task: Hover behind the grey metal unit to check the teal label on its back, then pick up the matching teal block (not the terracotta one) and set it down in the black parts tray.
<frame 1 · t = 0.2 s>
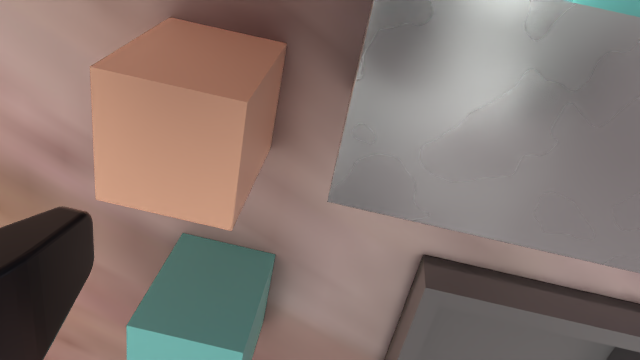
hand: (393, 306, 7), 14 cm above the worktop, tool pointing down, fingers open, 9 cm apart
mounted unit: (507, 43, 19), on the worktop
parts tray: (495, 358, 26), on the worktop
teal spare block: (224, 278, 26), on the worktop
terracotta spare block: (223, 85, 21), on the worktop
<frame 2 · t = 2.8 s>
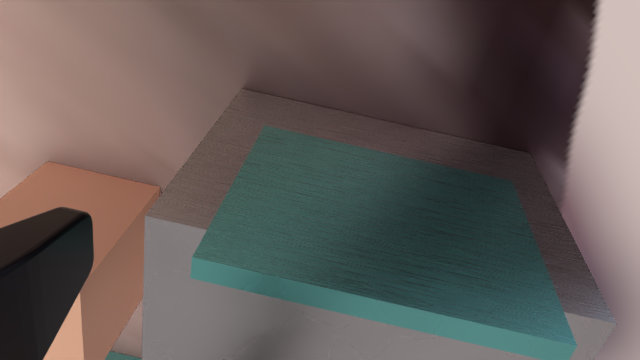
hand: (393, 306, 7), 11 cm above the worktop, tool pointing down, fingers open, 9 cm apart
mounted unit: (365, 194, 19), on the worktop
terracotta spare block: (105, 220, 22), on the worktop
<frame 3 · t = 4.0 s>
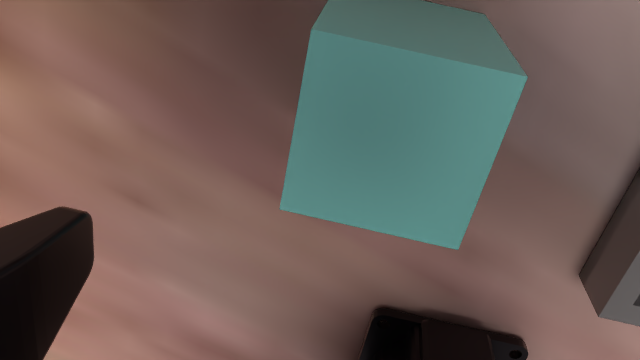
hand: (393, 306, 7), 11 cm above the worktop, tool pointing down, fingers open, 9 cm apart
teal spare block: (392, 68, 17), on the worktop
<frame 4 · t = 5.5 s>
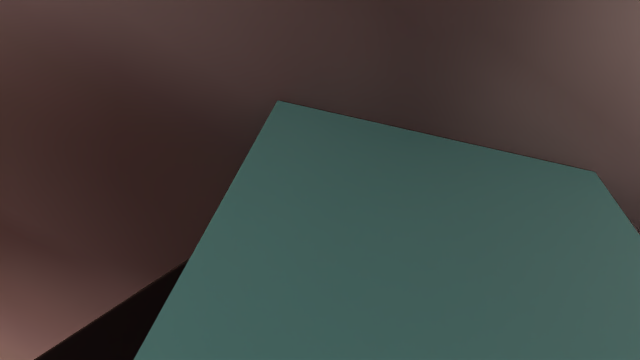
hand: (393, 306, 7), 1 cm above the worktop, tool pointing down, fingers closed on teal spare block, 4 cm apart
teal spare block: (394, 261, 8), on the worktop, touching gripper
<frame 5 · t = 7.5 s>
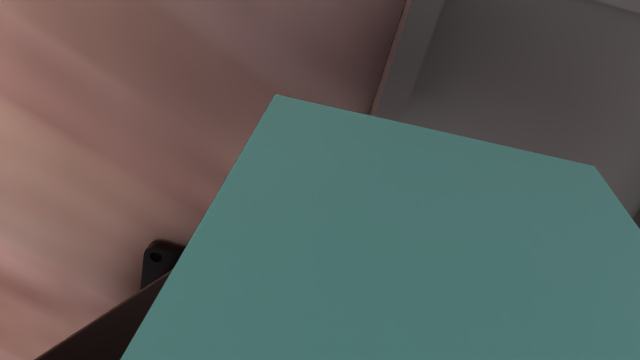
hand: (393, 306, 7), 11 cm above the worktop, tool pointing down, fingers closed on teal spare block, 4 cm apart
parts tray: (529, 128, 17), on the worktop
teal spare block: (392, 256, 8), point 10 cm above the worktop, touching gripper
when the fingers open (3 cm above the worktop, at t = 9.7 s): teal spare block drops 1 cm, resting on parts tray.
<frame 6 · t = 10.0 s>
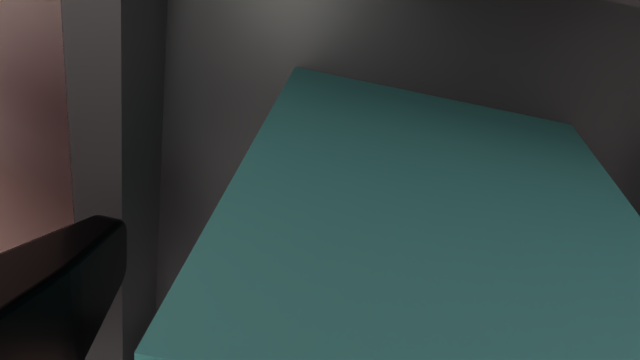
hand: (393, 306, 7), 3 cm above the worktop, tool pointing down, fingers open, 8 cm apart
parts tray: (395, 198, 10), on the worktop
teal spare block: (398, 211, 10), point 1 cm above the worktop, touching parts tray
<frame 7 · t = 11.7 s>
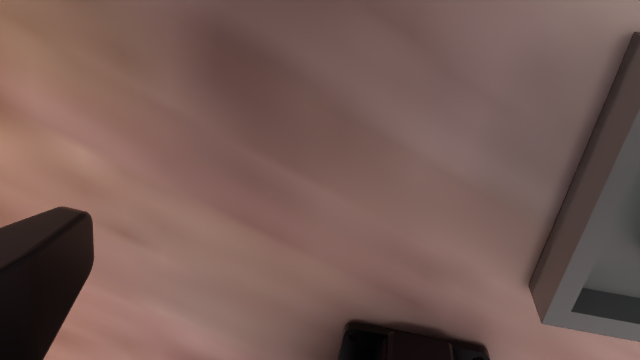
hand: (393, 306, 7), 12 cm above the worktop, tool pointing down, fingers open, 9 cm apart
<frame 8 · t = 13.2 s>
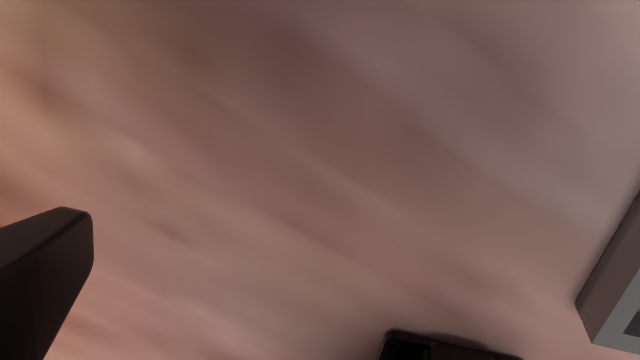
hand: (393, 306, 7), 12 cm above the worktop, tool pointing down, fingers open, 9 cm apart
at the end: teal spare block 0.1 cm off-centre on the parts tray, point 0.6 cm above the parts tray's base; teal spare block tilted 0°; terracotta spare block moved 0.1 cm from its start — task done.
